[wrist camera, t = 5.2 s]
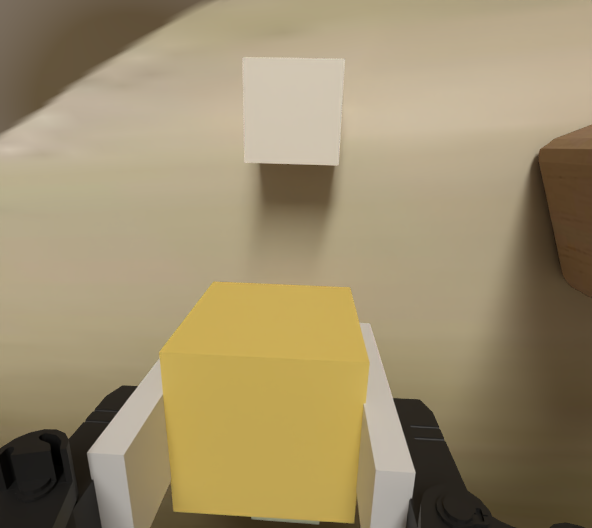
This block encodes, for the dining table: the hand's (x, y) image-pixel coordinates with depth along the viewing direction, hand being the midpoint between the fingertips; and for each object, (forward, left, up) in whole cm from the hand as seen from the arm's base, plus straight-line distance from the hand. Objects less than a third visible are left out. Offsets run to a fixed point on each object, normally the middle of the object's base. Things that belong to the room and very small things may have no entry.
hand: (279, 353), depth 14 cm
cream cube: (+7, +6, -13) cm, 16 cm away
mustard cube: (0, 0, -1) cm, 1 cm away
